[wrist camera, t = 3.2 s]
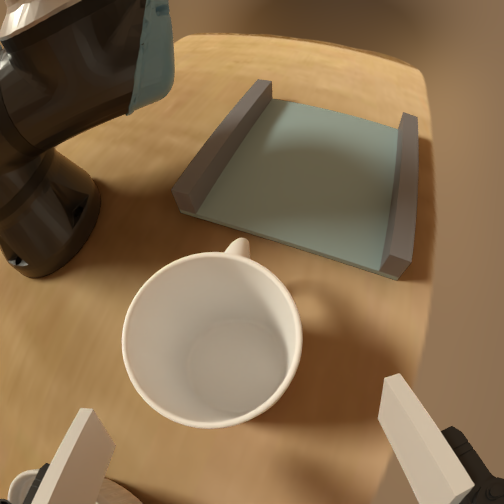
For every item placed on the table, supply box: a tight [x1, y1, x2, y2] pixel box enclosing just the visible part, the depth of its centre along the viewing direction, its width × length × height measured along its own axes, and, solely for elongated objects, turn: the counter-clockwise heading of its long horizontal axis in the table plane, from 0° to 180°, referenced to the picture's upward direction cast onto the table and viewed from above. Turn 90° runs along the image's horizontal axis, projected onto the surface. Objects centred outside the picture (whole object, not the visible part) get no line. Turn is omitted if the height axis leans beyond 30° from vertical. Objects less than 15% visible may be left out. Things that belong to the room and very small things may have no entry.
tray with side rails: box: [171, 79, 419, 280], centre depth 31 cm, size 22×22×4 cm
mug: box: [122, 238, 303, 429], centre depth 18 cm, size 9×12×11 cm
